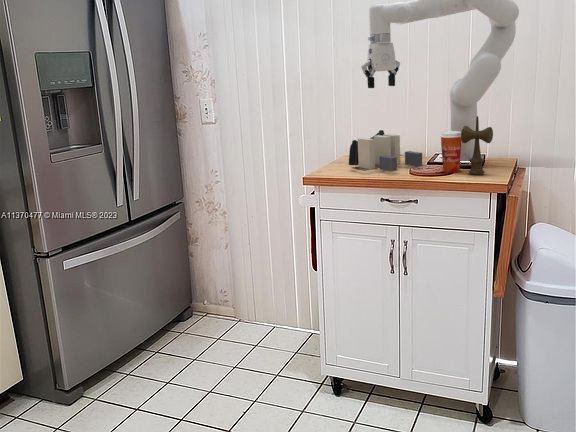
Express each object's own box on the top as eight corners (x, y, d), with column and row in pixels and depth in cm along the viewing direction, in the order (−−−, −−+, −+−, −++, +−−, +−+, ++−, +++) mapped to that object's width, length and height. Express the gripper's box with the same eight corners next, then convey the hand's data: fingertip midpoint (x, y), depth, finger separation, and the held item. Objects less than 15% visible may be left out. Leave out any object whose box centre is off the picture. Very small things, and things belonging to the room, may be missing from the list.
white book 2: (391, 165, 226) (390, 136, 223) (386, 166, 225) (385, 137, 222) (379, 163, 232) (378, 135, 229) (374, 164, 231) (373, 135, 228)
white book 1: (374, 168, 223) (374, 139, 220) (369, 169, 221) (368, 139, 219) (363, 166, 229) (362, 137, 226) (358, 167, 227) (357, 138, 225)
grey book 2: (422, 168, 222) (422, 152, 221) (417, 169, 221) (417, 153, 220) (409, 166, 228) (409, 150, 227) (405, 167, 227) (404, 151, 225)
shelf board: (401, 167, 228) (401, 164, 228) (364, 174, 220) (364, 170, 220) (386, 164, 236) (386, 161, 235) (350, 170, 228) (350, 167, 227)
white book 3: (400, 163, 228) (399, 135, 225) (395, 164, 227) (394, 135, 224) (388, 161, 234) (388, 133, 231) (383, 162, 233) (383, 134, 230)
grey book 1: (397, 173, 217) (396, 157, 215) (392, 174, 216) (391, 158, 214) (385, 171, 223) (384, 155, 221) (379, 172, 221) (379, 156, 220)
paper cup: (438, 173, 212) (438, 134, 208) (441, 169, 219) (441, 131, 215) (461, 173, 209) (461, 133, 205) (463, 169, 216) (464, 130, 212)
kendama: (466, 171, 212) (466, 114, 206) (493, 173, 206) (494, 115, 201) (459, 174, 207) (460, 116, 202) (487, 176, 201) (488, 117, 196)
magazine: (351, 146, 228) (384, 114, 248) (344, 145, 230) (377, 114, 250) (359, 185, 236) (390, 151, 256) (352, 184, 238) (383, 151, 258)
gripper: (367, 40, 212) (369, 89, 216) (405, 37, 220) (406, 85, 224) (355, 41, 218) (356, 88, 223) (392, 39, 226) (393, 85, 231)
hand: (381, 87), depth 224 cm, fingers open, 9 cm apart
